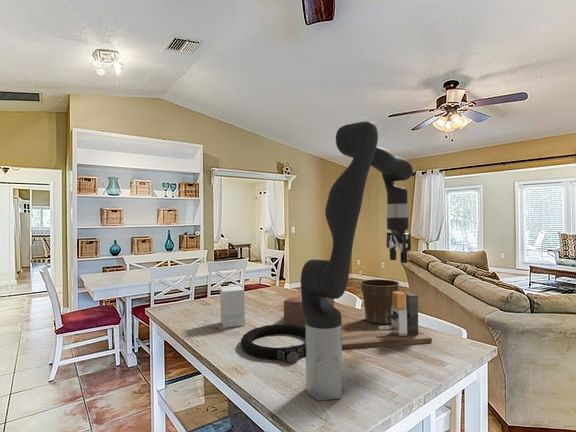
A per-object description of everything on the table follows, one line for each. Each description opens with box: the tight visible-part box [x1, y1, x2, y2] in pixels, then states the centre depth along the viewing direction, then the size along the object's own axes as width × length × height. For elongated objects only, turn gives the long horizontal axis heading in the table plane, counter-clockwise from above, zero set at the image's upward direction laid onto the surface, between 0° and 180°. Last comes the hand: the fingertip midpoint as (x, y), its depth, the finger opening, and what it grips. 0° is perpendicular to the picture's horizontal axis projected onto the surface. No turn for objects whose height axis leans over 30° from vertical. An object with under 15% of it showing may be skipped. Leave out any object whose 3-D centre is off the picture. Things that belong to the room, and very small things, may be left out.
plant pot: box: [359, 279, 400, 325], centre depth 147 cm, size 16×16×16 cm
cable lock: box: [240, 323, 306, 364], centre depth 120 cm, size 28×4×30 cm
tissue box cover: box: [283, 290, 335, 327], centre depth 153 cm, size 26×14×10 cm, turn 158°
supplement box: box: [219, 285, 246, 329], centre depth 145 cm, size 9×9×15 cm
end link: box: [377, 290, 407, 336], centre depth 124 cm, size 6×9×15 cm, turn 98°
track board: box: [342, 293, 433, 350], centre depth 124 cm, size 12×34×16 cm, turn 98°
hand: (398, 261), depth 125 cm, fingers open, 8 cm apart
